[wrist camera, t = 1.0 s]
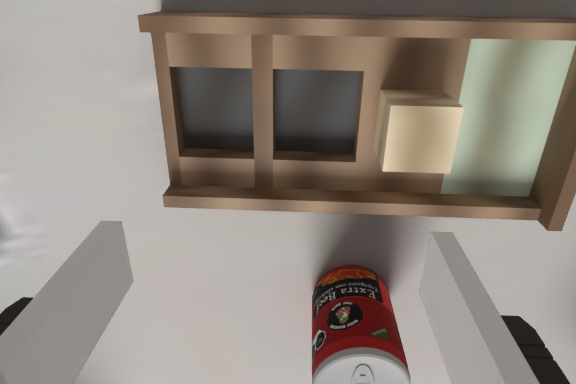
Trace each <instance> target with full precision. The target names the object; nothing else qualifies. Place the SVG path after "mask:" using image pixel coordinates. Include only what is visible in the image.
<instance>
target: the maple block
mask: <svg viewBox="0 0 576 384" xmlns="http://www.w3.org/2000/svg"><path fill="white" fill-rule="evenodd" d="M463 110H464V107H463V106H462V105H460V104H459V103H458V102H457V101H455V100H454V99H453V98H452V97H450V96H449V95H448V94H447V93H445V92H444V91H436V90H395V89H380V94H379V102H378V111H377V120H376V129H375V138H374V147H373V148H374V151H375V153H376V156H377V159H378V161H379V164H380V166H381V169H382V171H384V172H415V173H447V174H450V172H451V167H452V163H453V158H454V153H455V148H456V143H457V139H458V134H459V129H460V124H461V119H462V114H463Z"/></svg>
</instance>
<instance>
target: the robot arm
mask: <svg viewBox="0 0 576 384" xmlns="http://www.w3.org/2000/svg"><path fill="white" fill-rule="evenodd" d="M132 283H133V276H132V271H131V266H130V261H129V256H128V251H127V246H126V241H125V236H124V231H123V226H122V221H101V222H100V223H99V224H98V225H97V226H96V227H95V228H94V230H93V231H92V232H91V233H90V234H89V235H88V236H87V238H86V239H85V240H84V241H83V242H82V243H81V244H80V246H79V247H78V248H77V249H76V250H75V251H74V252H73V254H72V255H71V256H70V257H69V258H68V259H67V260H66V262H65V263H64V264H63V265H62V266H61V267H60V268H59V270H58V271H57V272H56V273H55V274H54V275H53V276H52V278H51V279H50V280H49V281H48V282H47V283H46V284H45V286H44V287H43V288H42V289H41V290H40V291H39V292H38V294H37V295H36V296H35V297H34V298H27V297H23V298H21V299H20V300H18V301H17V302H15V303H14V304H12V305H10V306H9V307H7V308H6V309H5V310H4V311H3V312H2V313H1V314H0V384H73V383H74V381H75V379H76V378H77V376H78V374H79V372H80V371H81V369H82V367H83V366H84V364H85V362H86V361H87V359H88V357H89V355H90V354H91V352H92V350H93V349H94V347H95V345H96V344H97V342H98V340H99V339H100V337H101V335H102V333H103V332H104V330H105V328H106V327H107V325H108V323H109V322H110V320H111V318H112V316H113V315H114V313H115V311H116V310H117V308H118V306H119V305H120V303H121V301H122V300H123V298H124V296H125V294H126V293H127V291H128V289H129V288H130V286H131V284H132ZM419 293H420V296H421V299H422V302H423V304H424V307H425V310H426V313H427V316H428V318H429V321H430V324H431V327H432V330H433V332H434V335H435V338H436V341H437V344H438V346H439V349H440V352H441V355H442V358H443V361H444V363H445V366H446V369H447V372H448V375H449V377H450V380H451V383H452V384H570V383H569V381H568V380H567V378H566V376H565V375H564V373H563V372H562V370H561V369H560V367H559V366H558V364H557V363H556V361H554V360H553V357H552V355H551V353H550V352H549V350H548V349H547V348H545V344H544V343H543V341H542V340H541V338H540V337H539V335H538V334H537V332H536V330H535V329H534V328H532V327H531V326H530V325H529V324H528V323H527V322H525V321H524V320H523V319H522V318H521V317H520V316H502V315H500V314H499V312H498V311H497V309H496V307H495V305H494V304H493V302H492V300H491V298H490V297H489V295H488V293H487V291H486V290H485V288H484V286H483V284H482V283H481V281H480V279H479V278H478V276H477V274H476V272H475V271H474V269H473V267H472V265H471V264H470V262H469V260H468V258H467V257H466V255H465V253H464V251H463V250H462V248H461V246H460V244H459V243H458V241H457V239H456V238H455V236H454V234H453V232H431V234H430V239H429V244H428V249H427V254H426V259H425V264H424V269H423V274H422V279H421V285H420V290H419Z"/></svg>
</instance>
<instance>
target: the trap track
mask: <svg viewBox="0 0 576 384" xmlns="http://www.w3.org/2000/svg"><path fill="white" fill-rule="evenodd" d="M138 20H139V28H140V32H151V36H152V43H153V51H154V59H155V67H156V75H157V83H158V91H159V99H160V107H161V115H162V122H163V130H164V138H165V146H166V154H167V162H168V170H169V178H170V186H169V187H168V189H167V190H166V192H165V193H164V195H163V202H164V207H177V208H206V209H234V210H262V211H290V212H318V213H346V214H375V215H403V216H431V217H459V218H487V219H515V220H538V221H539V222H540V223H541V224H542V225H543V226H544V227H545V229H546V230H547V231H562V229H563V226H564V223H565V220H566V218H567V215H568V212H569V209H570V207H571V204H572V201H573V198H574V196H575V193H576V19H559V18H503V17H447V16H391V15H335V14H279V13H223V12H167V11H160V12H154V13H149V14H143V15H138ZM380 89H395V90H436V91H444V92H445V93H447V94H448V95H449V96H450V97H452V98H453V99H454V100H455V101H457V102H458V103H459V104H460V105H462V106H463V107H464V110H463V114H462V119H461V124H460V129H459V134H458V139H457V143H456V148H455V153H454V158H453V163H452V167H451V172H450V174H447V173H415V172H384V171H382V169H381V166H380V164H379V161H378V159H377V156H376V153H375V151H374V148H373V147H374V138H375V129H376V120H377V111H378V102H379V94H380Z"/></svg>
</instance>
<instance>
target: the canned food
mask: <svg viewBox="0 0 576 384" xmlns="http://www.w3.org/2000/svg"><path fill="white" fill-rule="evenodd" d="M312 384H411V382H410V374H409V370H408V365H407V361H406V358H405V354H404V350H403V346H402V342H401V338H400V335H399V331H398V327H397V323H396V319H395V315H394V312H393V308H392V304H391V300H390V296H389V293H388V290H387V288H386V286H385V284H384V283H383V282H382V280H381V279H380V278H379V277H378V276H377V275H376V274H375V273H373V272H372V271H370V270H368V269H365V268H362V267H358V266H345V267H340V268H336V269H334V270H332V271H330V272H328V273H327V274H326V275H324V276H323V277H322V278H321V279H320V281H319V282H318V284H317V286H316V288H315V290H314V293H313V296H312Z"/></svg>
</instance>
